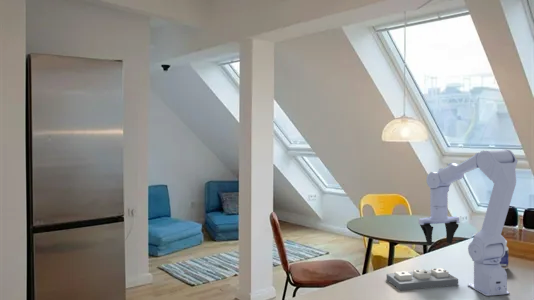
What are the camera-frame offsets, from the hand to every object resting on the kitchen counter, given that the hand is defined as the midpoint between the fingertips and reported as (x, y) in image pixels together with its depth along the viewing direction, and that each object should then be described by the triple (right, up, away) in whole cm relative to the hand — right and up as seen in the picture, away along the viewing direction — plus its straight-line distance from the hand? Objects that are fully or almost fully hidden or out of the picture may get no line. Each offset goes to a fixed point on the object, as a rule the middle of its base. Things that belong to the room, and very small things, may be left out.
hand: (439, 243), depth 158 cm
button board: (-10, -10, -11) cm, 18 cm away
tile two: (-10, -9, -11) cm, 18 cm away
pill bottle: (+23, -9, +2) cm, 25 cm away
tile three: (-4, -9, -10) cm, 14 cm away
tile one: (-17, -9, -12) cm, 23 cm away
